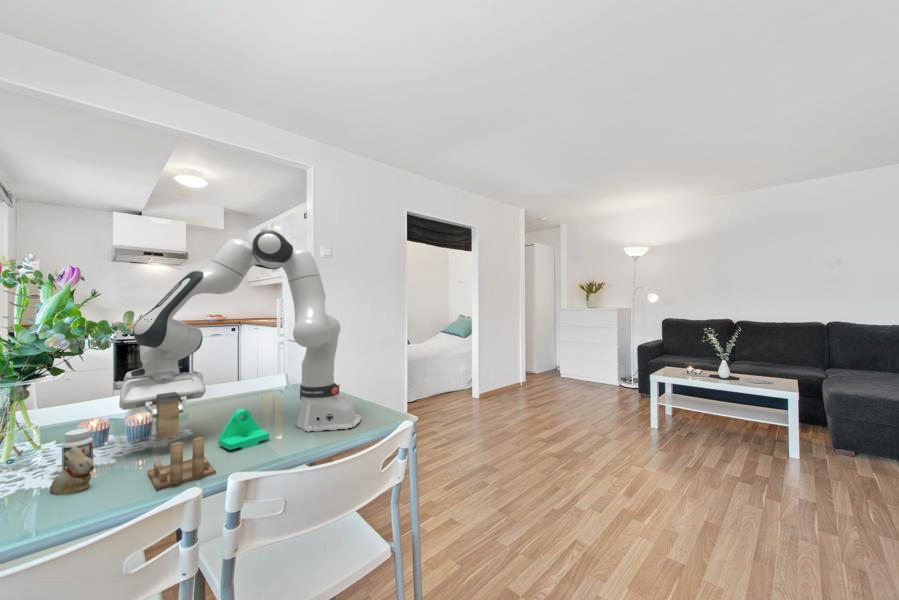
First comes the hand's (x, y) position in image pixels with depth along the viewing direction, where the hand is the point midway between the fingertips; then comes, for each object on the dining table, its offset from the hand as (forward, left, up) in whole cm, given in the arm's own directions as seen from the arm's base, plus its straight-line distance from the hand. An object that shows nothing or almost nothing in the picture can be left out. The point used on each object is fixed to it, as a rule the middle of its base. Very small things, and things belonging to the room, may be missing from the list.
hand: (167, 414), depth 106 cm
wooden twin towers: (-13, +13, -11) cm, 21 cm away
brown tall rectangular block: (0, 0, -6) cm, 6 cm away
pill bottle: (+15, +10, -11) cm, 22 cm away
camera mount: (-19, -7, -12) cm, 23 cm away
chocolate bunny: (+7, +20, -11) cm, 24 cm away
